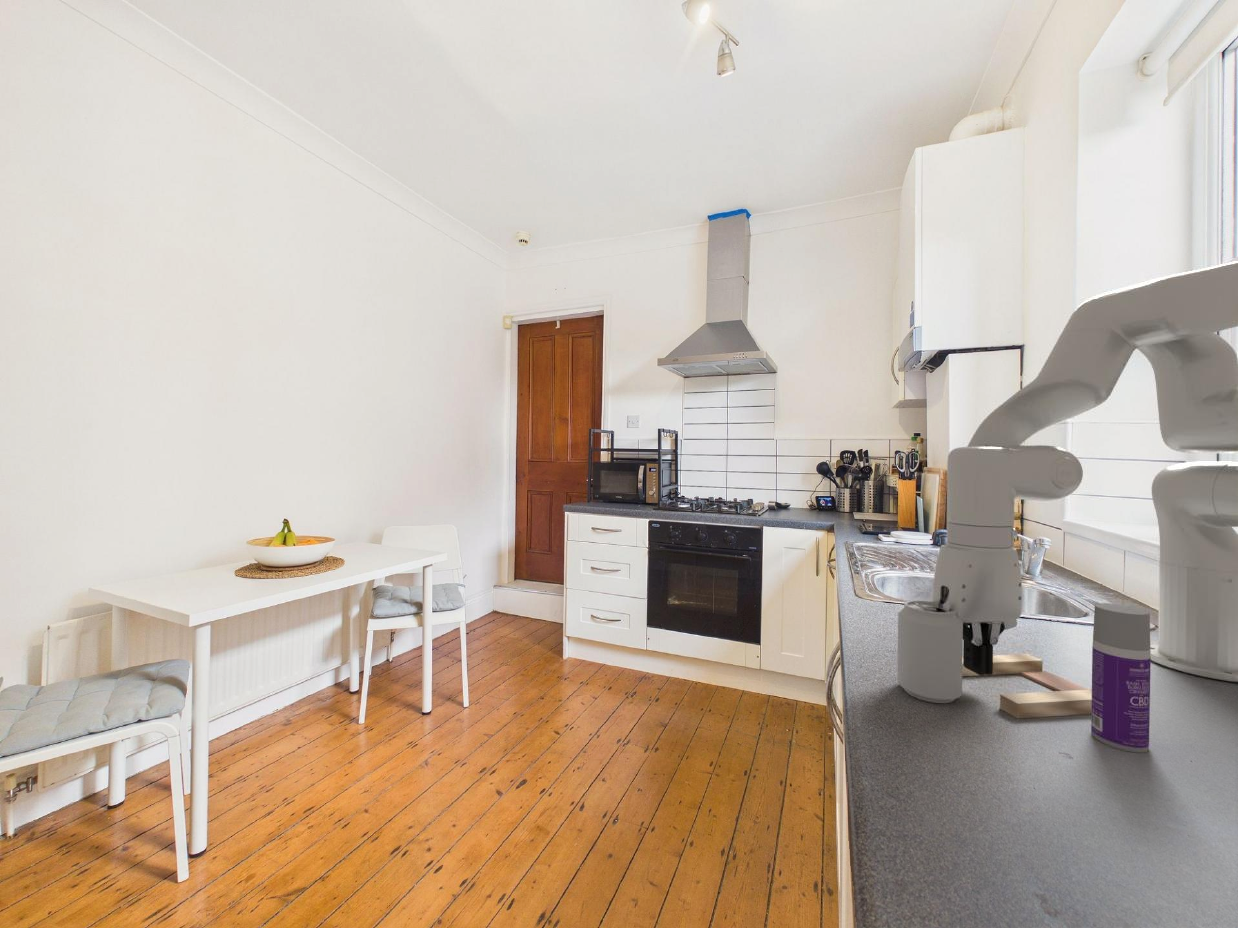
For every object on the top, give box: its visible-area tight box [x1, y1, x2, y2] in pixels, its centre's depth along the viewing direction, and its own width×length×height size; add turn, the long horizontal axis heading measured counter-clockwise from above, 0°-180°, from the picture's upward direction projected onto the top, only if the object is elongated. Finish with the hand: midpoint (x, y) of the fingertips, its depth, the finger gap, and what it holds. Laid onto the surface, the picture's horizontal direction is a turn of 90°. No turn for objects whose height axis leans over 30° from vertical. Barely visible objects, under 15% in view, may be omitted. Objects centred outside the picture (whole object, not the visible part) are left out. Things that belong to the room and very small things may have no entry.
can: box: [896, 599, 963, 704], centre depth 69 cm, size 8×8×12 cm
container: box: [1090, 602, 1152, 753], centre depth 58 cm, size 5×5×15 cm
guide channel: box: [962, 653, 1092, 719], centre depth 71 cm, size 16×14×2 cm
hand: (977, 670), depth 70 cm, fingers closed
